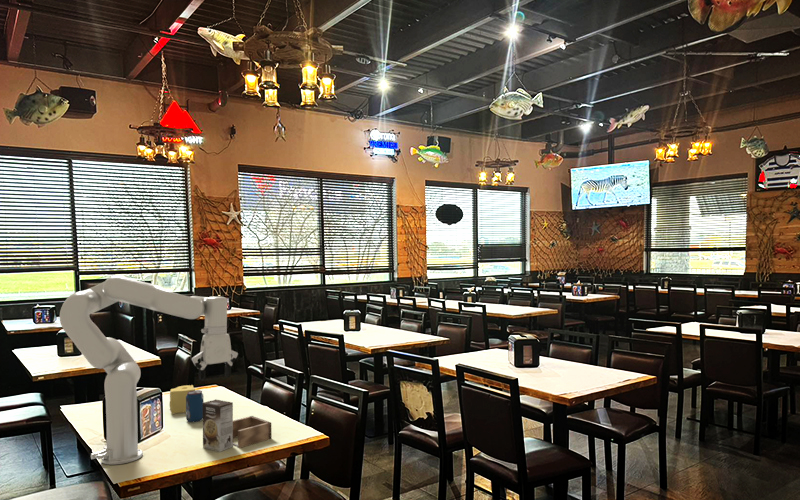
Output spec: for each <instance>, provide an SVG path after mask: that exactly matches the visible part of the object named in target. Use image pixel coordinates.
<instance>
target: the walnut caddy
mask: <svg viewBox="0 0 800 500" xmlns="http://www.w3.org/2000/svg"><path fill="white" fill-rule="evenodd" d="M236 437H237V443H236V442H233V447H234V446H235V447H236V446H237V448H239V449H241V448H245V447H248V446H251V444H252V445H254V444H258V443H261V442H265V441H268V439H269V440H272V439H273V438H272V422H271V421H268V420H265V419H264V418H263V419H262V418H259V417H256V416H254V415H249V416H245V417H243V418H239V419H238V418H237V419H235V420H234V419H233V438H236ZM244 446H245V447H244Z"/></svg>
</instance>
